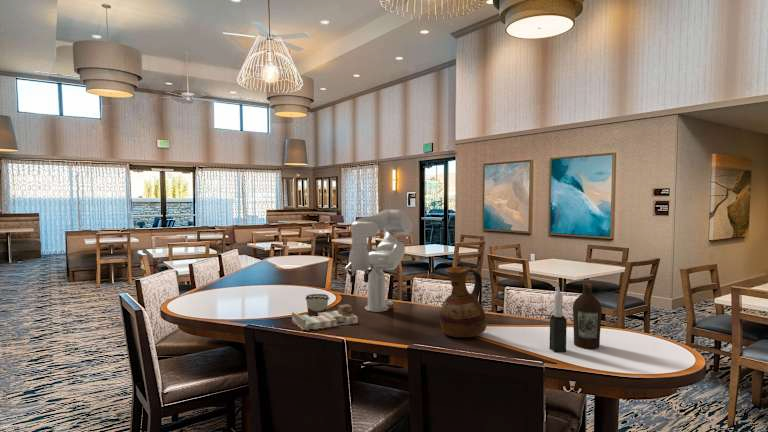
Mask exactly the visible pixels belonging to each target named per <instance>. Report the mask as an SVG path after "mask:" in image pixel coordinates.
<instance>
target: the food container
mask: <svg viewBox="0 0 768 432" xmlns="http://www.w3.org/2000/svg"><path fill="white" fill-rule="evenodd" d="M305 300H306V306H307V307H306V308H307V315H308V316H315V315H318V313H322V312H328V311H327V310H328V304H329V303H328V302H329V301H330V296H329V295H328V294H327V293H312V294H311V293H310V294H307V295H306V297H305Z"/></svg>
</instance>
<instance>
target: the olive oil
mask: <svg viewBox="0 0 768 432" xmlns="http://www.w3.org/2000/svg"><path fill="white" fill-rule="evenodd" d="M582 285H583V287H582V293H581V294H580V295H579V296H578V297H577V298H576V299H575V300H574V302H573V304H572V319H573V345H574V346H576V347H578V348H581V349H586V350H587V349H588V350H597V349H599V348H600V343H601V342H600V341H601V340H600V339H601V327H602V326H601V324H602V315H603V309H602V303H601V302H600V301H599V299H597V298H596V297H595V296H594V294H593V284H591V283H583V284H582Z"/></svg>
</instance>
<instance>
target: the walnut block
mask: <svg viewBox="0 0 768 432" xmlns="http://www.w3.org/2000/svg"><path fill="white" fill-rule="evenodd" d="M352 307H353V306H352V305H350V304H348V303H345V304H339V305H338V306H337V310H338V314H340V315H342V316H343V315H350V314H353V309H352Z"/></svg>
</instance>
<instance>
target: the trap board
mask: <svg viewBox="0 0 768 432" xmlns="http://www.w3.org/2000/svg"><path fill="white" fill-rule="evenodd" d="M291 314H292V315H291V322H292V324H294V326H296V325H297V326H296V327H297V328H299V327H300V328H301V329H300V328H299V329H300V330H302V329H303V330H307V331H310V330H309V329H314V330H320V329H319V328H321V329H325V328H326V329H328V328H333V327H340V326H346V325H351V324H358V321H359V320H358V318H359V316H357V315H355V314H353V313H352V314H350V315H343V316H342V315H340V314H338V309H337V310H331V311H330V310H329V311H327V312H322V313H318V316H315V315H311V316H310V315H308V314H299V313H296V312H295V311H291ZM303 330H302V331H303Z"/></svg>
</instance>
